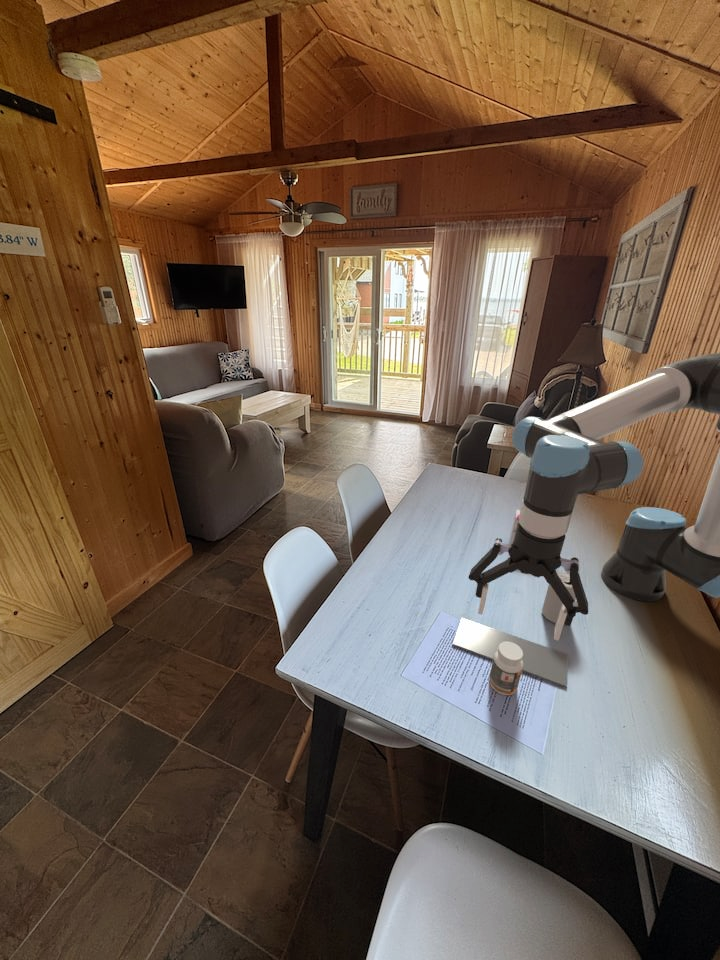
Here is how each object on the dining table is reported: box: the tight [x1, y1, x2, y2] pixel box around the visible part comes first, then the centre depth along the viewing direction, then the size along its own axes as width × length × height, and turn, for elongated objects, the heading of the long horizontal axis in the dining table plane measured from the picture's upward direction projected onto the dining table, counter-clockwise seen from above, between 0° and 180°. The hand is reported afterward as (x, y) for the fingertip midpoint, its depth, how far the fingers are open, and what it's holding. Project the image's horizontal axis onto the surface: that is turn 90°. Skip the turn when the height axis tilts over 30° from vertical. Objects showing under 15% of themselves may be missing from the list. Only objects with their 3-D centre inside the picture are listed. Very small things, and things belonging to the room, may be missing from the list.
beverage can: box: [541, 571, 577, 624], centre depth 97 cm, size 6×6×12 cm
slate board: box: [451, 617, 568, 689], centre depth 90 cm, size 24×9×1 cm, turn 63°
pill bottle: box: [488, 641, 523, 696], centre depth 80 cm, size 6×6×10 cm
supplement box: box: [508, 509, 521, 545], centre depth 125 cm, size 6×6×12 cm
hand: (517, 621), depth 75 cm, fingers open, 13 cm apart
